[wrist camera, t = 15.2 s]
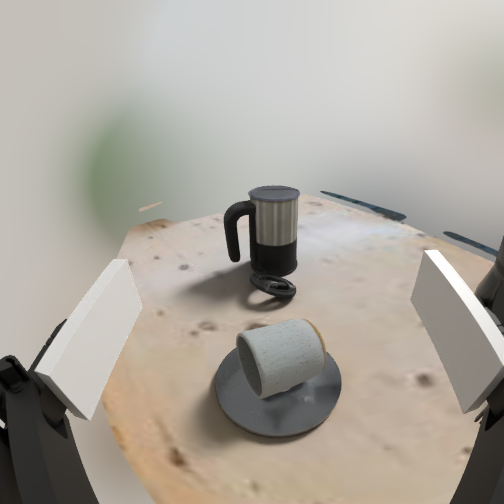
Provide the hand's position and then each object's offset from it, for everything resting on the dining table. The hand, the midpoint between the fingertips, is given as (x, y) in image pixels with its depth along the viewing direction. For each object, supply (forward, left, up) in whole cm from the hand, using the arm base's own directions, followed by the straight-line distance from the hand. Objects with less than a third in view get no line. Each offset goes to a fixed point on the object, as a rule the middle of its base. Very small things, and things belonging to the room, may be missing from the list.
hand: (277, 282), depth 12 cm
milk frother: (-24, -24, -23) cm, 41 cm away
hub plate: (-8, -7, -22) cm, 25 cm away
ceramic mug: (-8, -8, -21) cm, 24 cm away
